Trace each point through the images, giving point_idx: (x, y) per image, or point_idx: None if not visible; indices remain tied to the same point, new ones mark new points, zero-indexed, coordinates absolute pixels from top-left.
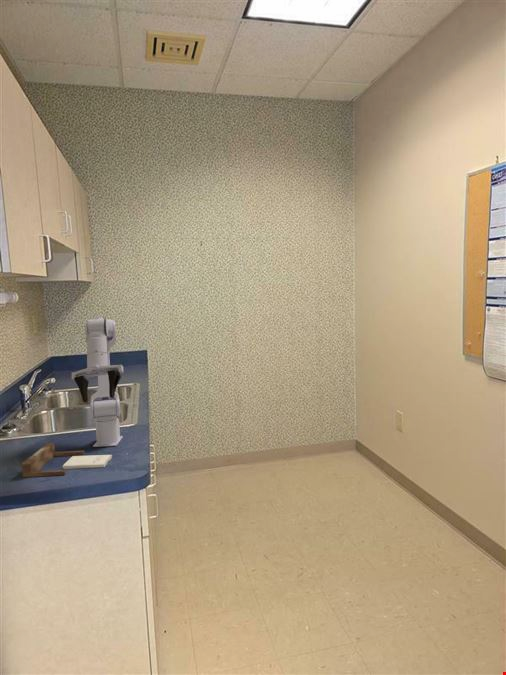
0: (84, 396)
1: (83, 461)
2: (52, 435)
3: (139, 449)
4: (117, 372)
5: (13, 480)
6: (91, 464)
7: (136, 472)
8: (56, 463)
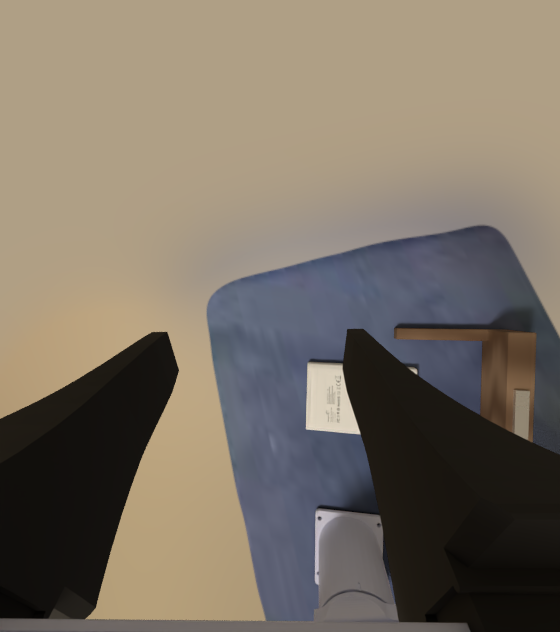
0: (355, 340)
1: None
2: None
3: (248, 467)
4: None
5: (523, 312)
6: (340, 366)
7: (224, 317)
8: None
